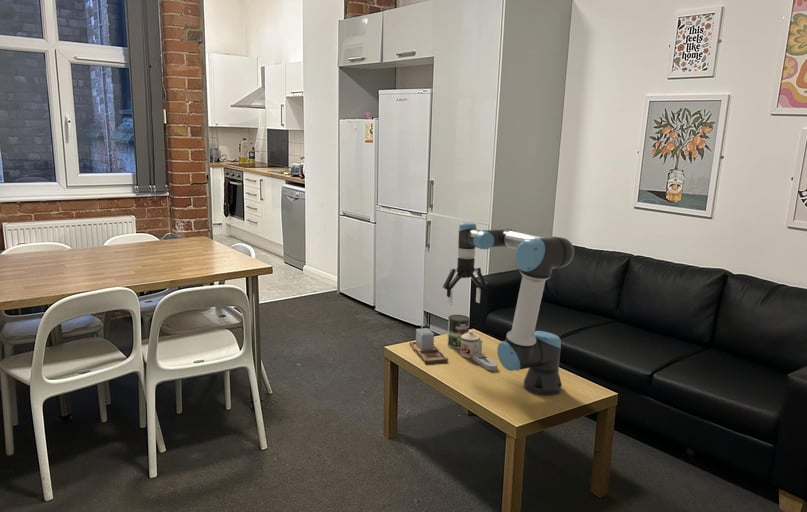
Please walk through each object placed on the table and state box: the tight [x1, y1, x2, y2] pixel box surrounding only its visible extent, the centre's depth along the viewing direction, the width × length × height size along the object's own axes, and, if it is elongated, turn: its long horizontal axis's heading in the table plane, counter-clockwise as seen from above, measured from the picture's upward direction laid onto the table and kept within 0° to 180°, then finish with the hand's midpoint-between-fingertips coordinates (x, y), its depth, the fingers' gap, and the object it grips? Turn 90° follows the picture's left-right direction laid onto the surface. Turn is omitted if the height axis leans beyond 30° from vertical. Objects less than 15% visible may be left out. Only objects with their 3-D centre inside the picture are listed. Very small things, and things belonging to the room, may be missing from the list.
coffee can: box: [446, 314, 470, 350], centre depth 276 cm, size 10×10×14 cm
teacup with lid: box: [459, 330, 481, 359], centre depth 262 cm, size 12×9×12 cm
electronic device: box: [472, 339, 498, 372], centre depth 253 cm, size 5×10×15 cm
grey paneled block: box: [415, 327, 435, 350], centre depth 270 cm, size 9×6×8 cm, turn 16°
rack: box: [409, 341, 449, 365], centre depth 265 cm, size 24×11×2 cm, turn 16°
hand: (464, 303), depth 256 cm, fingers open, 13 cm apart
